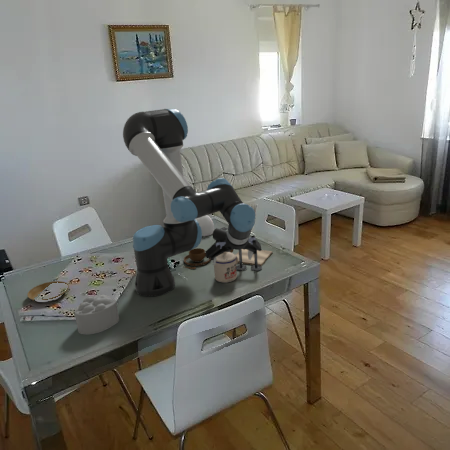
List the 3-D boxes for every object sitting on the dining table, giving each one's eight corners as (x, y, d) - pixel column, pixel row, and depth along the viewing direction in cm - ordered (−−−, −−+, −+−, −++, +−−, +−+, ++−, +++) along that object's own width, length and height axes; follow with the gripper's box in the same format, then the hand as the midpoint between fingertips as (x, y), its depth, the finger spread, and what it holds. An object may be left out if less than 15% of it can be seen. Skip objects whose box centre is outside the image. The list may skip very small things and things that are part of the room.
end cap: (212, 243, 198) (211, 229, 196) (223, 238, 203) (222, 225, 201) (227, 248, 192) (226, 234, 189) (238, 243, 196) (237, 229, 194)
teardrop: (208, 226, 220) (206, 205, 216) (218, 232, 211) (216, 210, 207) (189, 231, 215) (187, 209, 211) (199, 237, 206) (196, 214, 202)
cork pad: (261, 266, 171) (260, 264, 171) (230, 261, 177) (230, 260, 177) (272, 252, 183) (272, 251, 183) (243, 249, 189) (242, 247, 188)
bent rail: (257, 273, 165) (257, 250, 162) (220, 267, 172) (219, 245, 169) (263, 267, 170) (262, 244, 167) (227, 261, 177) (225, 240, 174)
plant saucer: (51, 284, 169) (50, 278, 168) (78, 290, 162) (77, 284, 161) (20, 301, 156) (18, 295, 155) (47, 309, 150) (46, 302, 149)
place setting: (196, 251, 191) (195, 239, 189) (235, 257, 182) (235, 245, 180) (175, 267, 176) (173, 254, 174) (216, 275, 167) (215, 261, 165)
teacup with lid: (227, 285, 157) (225, 257, 153) (209, 279, 163) (207, 252, 159) (246, 273, 166) (245, 246, 162) (229, 268, 171) (227, 241, 167)
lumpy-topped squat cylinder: (123, 320, 139) (119, 297, 136) (87, 339, 130) (82, 315, 127) (106, 310, 146) (102, 288, 143) (71, 327, 137) (66, 304, 134)
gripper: (202, 250, 134) (200, 273, 153) (277, 240, 138) (265, 263, 157) (198, 229, 137) (197, 254, 156) (271, 220, 141) (261, 245, 160)
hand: (231, 258), depth 156 cm, fingers open, 13 cm apart
